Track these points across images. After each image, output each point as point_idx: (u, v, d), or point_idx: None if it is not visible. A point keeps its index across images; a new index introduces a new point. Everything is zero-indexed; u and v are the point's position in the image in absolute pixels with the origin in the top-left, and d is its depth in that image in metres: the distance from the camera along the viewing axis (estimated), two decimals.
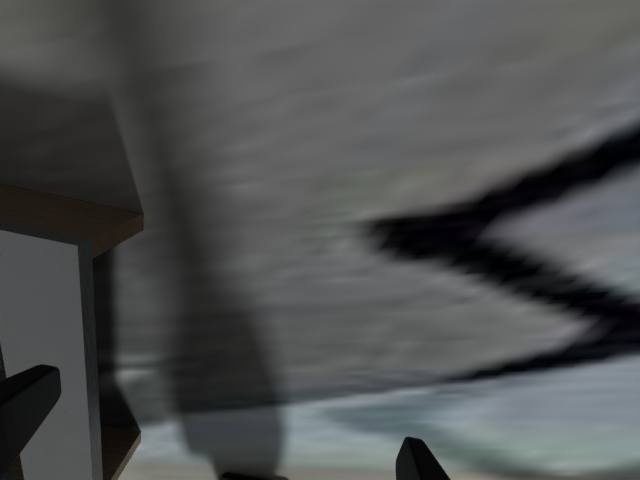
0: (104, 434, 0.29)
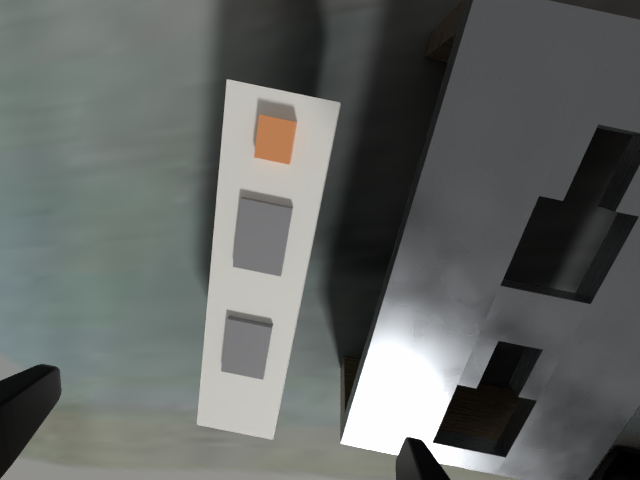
0: (500, 395, 0.23)
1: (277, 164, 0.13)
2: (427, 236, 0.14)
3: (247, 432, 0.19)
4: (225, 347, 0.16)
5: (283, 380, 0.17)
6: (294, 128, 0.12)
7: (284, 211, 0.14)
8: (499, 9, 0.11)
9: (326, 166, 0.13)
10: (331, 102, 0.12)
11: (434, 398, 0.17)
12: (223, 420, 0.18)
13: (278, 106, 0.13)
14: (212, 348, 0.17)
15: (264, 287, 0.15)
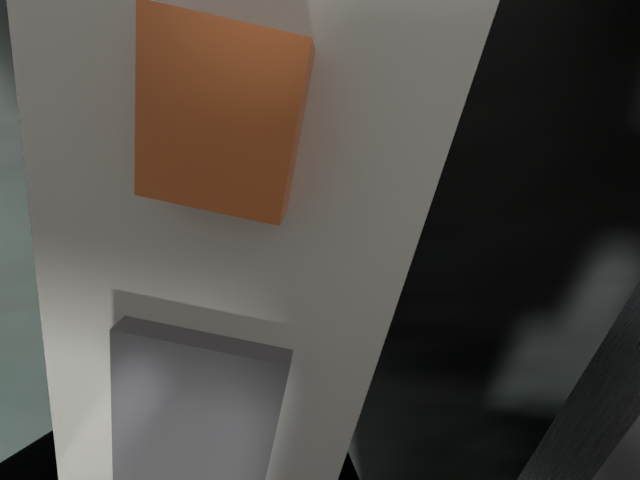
0: None
1: (240, 216, 0.04)
2: None
3: None
4: None
5: None
6: (305, 71, 0.03)
7: (262, 372, 0.04)
8: None
9: (418, 226, 0.04)
10: None
11: None
12: None
13: None
14: None
15: None
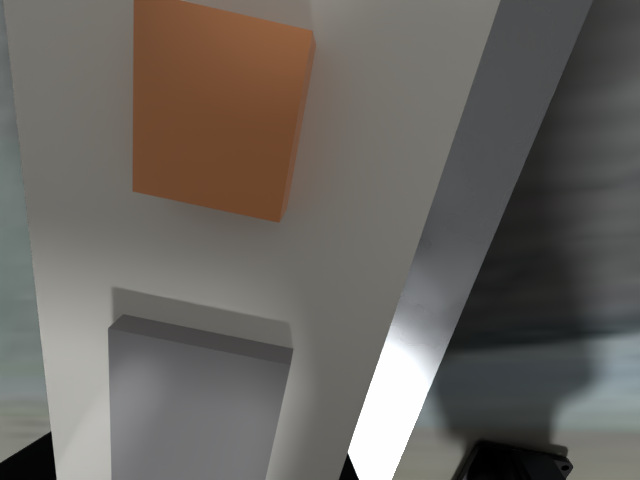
0: None
1: (239, 214, 0.04)
2: None
3: None
4: None
5: None
6: (305, 65, 0.03)
7: (262, 372, 0.04)
8: None
9: (420, 223, 0.04)
10: None
11: None
12: None
13: None
14: None
15: None
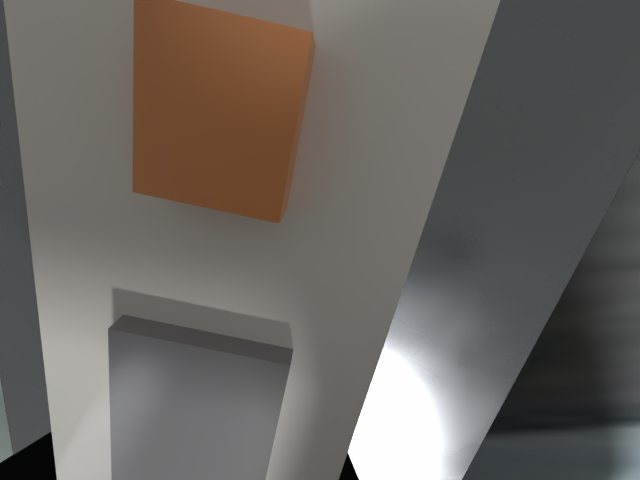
0: None
1: (239, 214, 0.04)
2: (24, 284, 0.08)
3: None
4: None
5: None
6: (305, 66, 0.03)
7: (262, 373, 0.04)
8: None
9: (420, 224, 0.04)
10: None
11: None
12: None
13: None
14: None
15: None
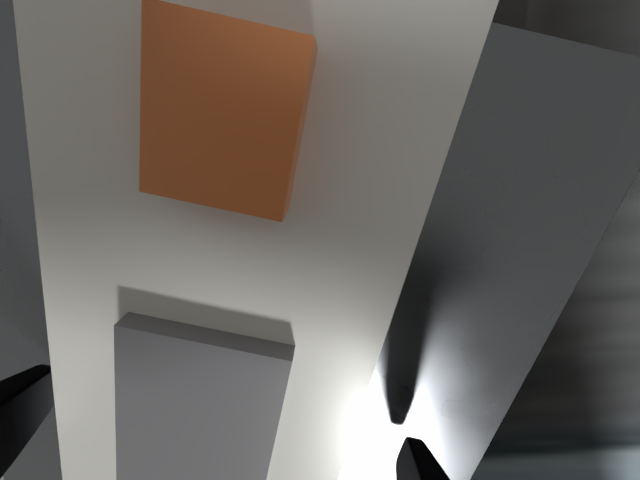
0: None
1: (242, 214, 0.04)
2: (15, 339, 0.09)
3: None
4: None
5: None
6: (308, 69, 0.03)
7: (264, 368, 0.04)
8: None
9: (419, 223, 0.04)
10: None
11: None
12: None
13: None
14: None
15: None
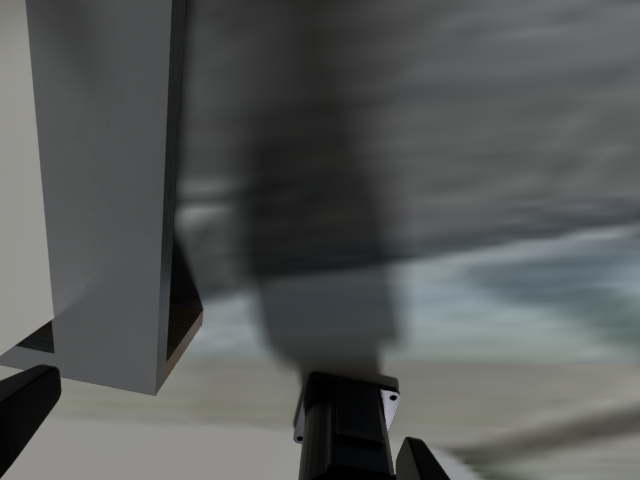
0: None
1: None
2: None
3: None
4: None
5: None
6: None
7: None
8: None
9: None
10: None
11: None
12: None
13: None
14: None
15: None
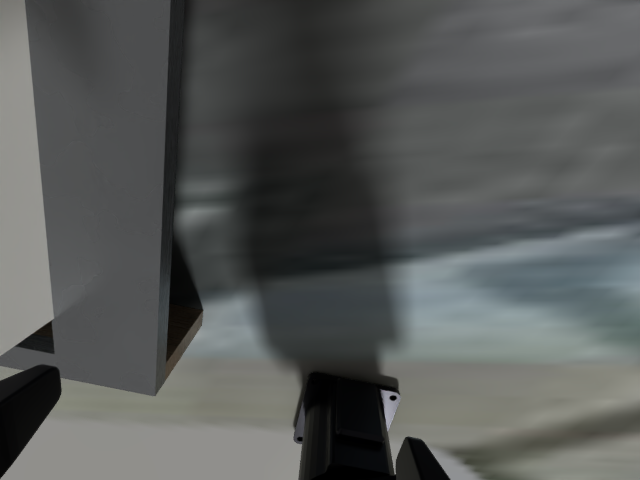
0: None
1: None
2: None
3: None
4: None
5: None
6: None
7: None
8: None
9: None
10: None
11: None
12: None
13: None
14: None
15: None
